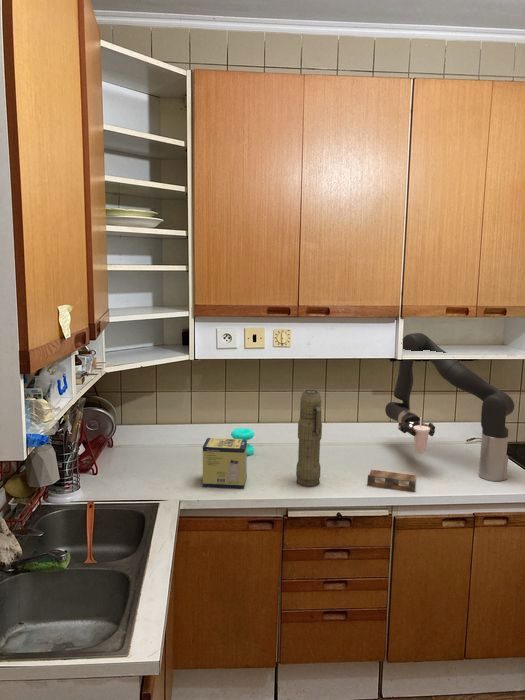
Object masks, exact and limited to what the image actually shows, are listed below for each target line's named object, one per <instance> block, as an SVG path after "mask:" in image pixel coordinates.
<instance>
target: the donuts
mask: <svg viewBox="0 0 525 700" xmlns="http://www.w3.org/2000/svg"><path fill="white" fill-rule="evenodd" d="M230 436H231V437H232V439H247V441H251V440H252V439H253V438H254V437H255V432H254V430H253V429H250V428H249V427H248V428H247V427H238V428H234V429H233V430H231V433H230ZM254 451H255V448H254V446H253V445H252V444H250V443H248V442H247V456H248V457H249V456H250V455H252V454H254Z"/></svg>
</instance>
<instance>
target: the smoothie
mask: <svg viewBox="0 0 525 700" xmlns="http://www.w3.org/2000/svg"><path fill="white" fill-rule="evenodd" d="M419 418H420V425H417V426H414V427H413V429H414V430H415V431H416V434H415V436H413V437H414V438H413V439H414V451H415V453H418V454H425V453H426V449H427V445H428V441H429V440H428V439H429V436H430V435H429V432H430V428H429V427H427V426H421V421H422V419H423V418H422V416H420V417H419ZM422 422H423V421H422Z"/></svg>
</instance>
